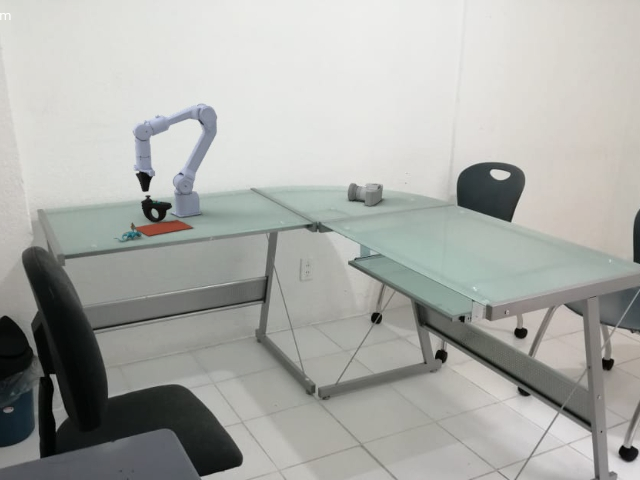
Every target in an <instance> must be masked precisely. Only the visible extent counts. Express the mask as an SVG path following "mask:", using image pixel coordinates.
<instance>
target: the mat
mask: <svg viewBox="0 0 640 480" xmlns="http://www.w3.org/2000/svg"><path fill="white" fill-rule="evenodd" d="M135 227H136V228H135V229H134V230H136V229H138V231H140V232H141V234H144V235H145V236H147V237H152V236H153V237H154V236H159V235H164V234H168V233H174V232H180V231H186V230H190V229H193V228H194V227H193V226H191V225H188V224H187V223H185V222H182V221H181V220H178V219H175V220H169V221H162V222H156V223H151V224H146V225H139V226H135Z"/></svg>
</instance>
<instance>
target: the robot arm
mask: <svg viewBox="0 0 640 480" xmlns="http://www.w3.org/2000/svg"><path fill="white" fill-rule="evenodd" d="M187 120H195V121H198V122H199V124H200V128H201V130H202V131H201V134H200V136H199V138H198V139H197V142H196V143H195V145H194V146H193V149H192V150H191V153H190V155H189V156H188V158H187V161H186V162H185V163H184V166H183V167H182V168H180V170H179V171H178V173H176V174H175V175H174V176H173V179H172V184H173V186H174V188H175V189H174V191H173V192H174V193H173V195H174V211H171V214H173V215H174V216H176V217H179V218H185V217H191V216H197V215H201V214H202V213H201V207H200V206H201V205H200V196H199V193H198V192H197V191H195V190H193V189H194V182H195V180H196V176H197V175H196V174H197V172H198V170H199V168H200V166H201V165H202V162H203V161H204V158H205V156H206V155H207V153H208V151H209V150H210V147H211V145H212V143H213V142H214V140H215V138H216V136H217V133H218V127H217V126H218V125H217V123H218V122H217V120H218V115H217V113H216V110H215V109H214V107H212V106H210V105H207V104H205V103H198V104H195V105H191V106H189V107H187V108H184V109H182V110H180V111H177V112H175V113H173V114H170V115H169V116H165V115H162V114H161V115H159V114H156V115H155V117H154V118H151V119H149V120H143V123H142V122H138V123H136V124H135V125H134V126H133V129H132V134H133V136H134V152H135V164H133V171H135V172H136V173H135V177H136V178H137V180H138V183H139V185H140V188H141V192H143V193H148V192H149V191H150V186H151V182H152V179H153V178H154V177H155V176H156V170H154V168H153V167H152V149H151V137H154V136H156V135H159V134H161V133H164V132H166V131H169V128H170V126H173V125H175V124H178V123H181V122H184V121H187Z"/></svg>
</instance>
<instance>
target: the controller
mask: <svg viewBox="0 0 640 480" xmlns="http://www.w3.org/2000/svg"><path fill="white" fill-rule="evenodd" d="M144 197H145V199H143V200H141V201H140V204H141V210H142V213H143V215H144V218H146V219H147V220H148V221H149V222H152V223H160V222H161V221H163V220H164V219H166V216H167V213H168V211H169V210H171V209H172V208H173V205H172V203H171V202H167V201H160V200H153V199H152V198H151V195H150V194H146V195H145V196H144ZM153 210H155V211H156V212H157V215H158V216H157V217H155V216H154V215H153V212H152V211H153Z"/></svg>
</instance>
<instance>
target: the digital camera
mask: <svg viewBox="0 0 640 480" xmlns="http://www.w3.org/2000/svg"><path fill="white" fill-rule="evenodd" d="M383 189H384V185H383V184H382V183H373V182H372V183H371V182H367V183H366V184H364V186H361V185H357V184H356V183H354V182H351V183H350V184H349V186H348V189H347V200H349V201H355V200H362V201H364V206H366V207H372V206H375V205H376V204H378V203H379V202H381V201H382V199H383V191H384V190H383Z"/></svg>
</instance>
